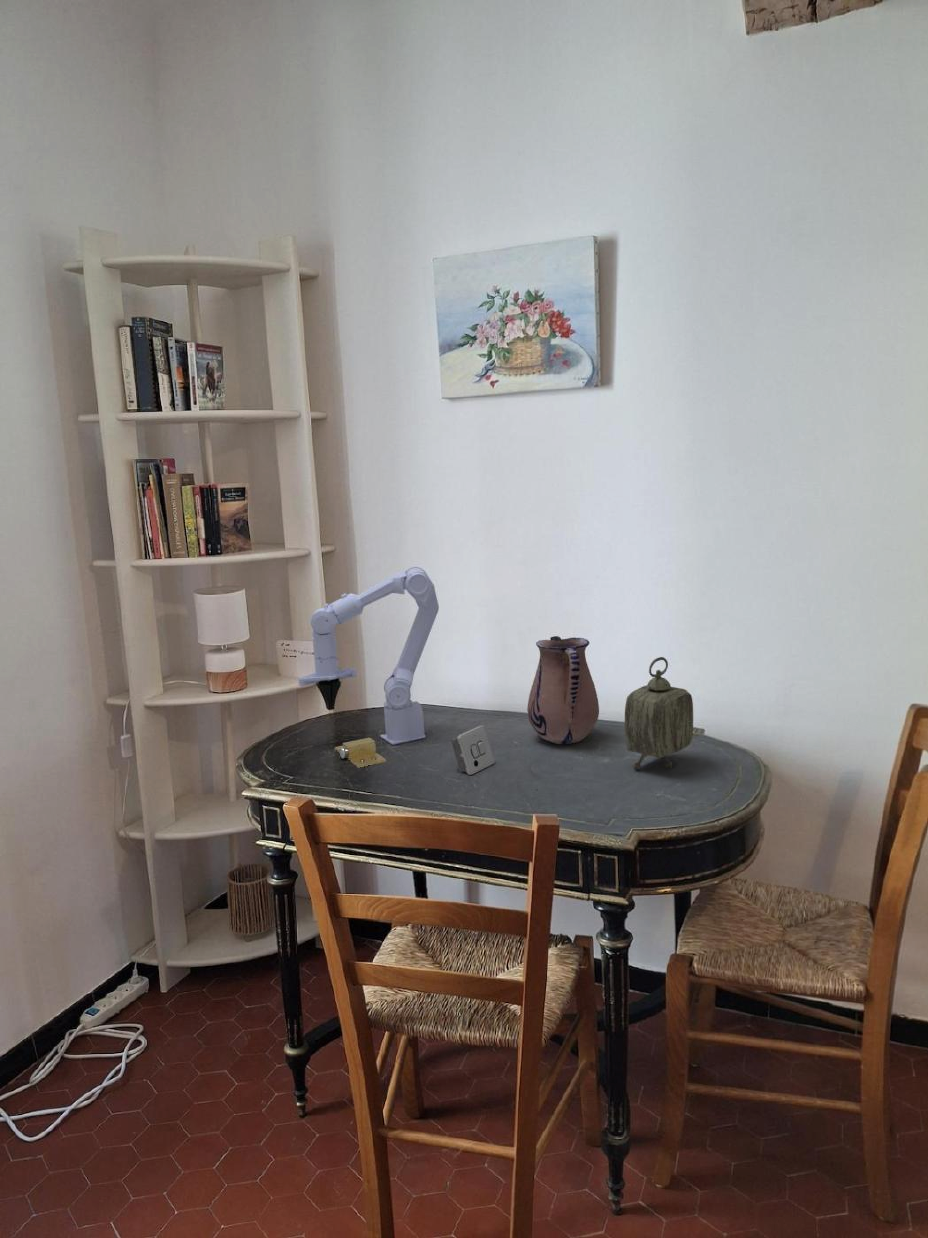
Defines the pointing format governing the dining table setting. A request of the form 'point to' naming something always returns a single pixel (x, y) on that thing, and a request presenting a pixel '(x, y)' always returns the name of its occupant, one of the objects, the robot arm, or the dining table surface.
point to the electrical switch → (473, 750)
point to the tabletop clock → (658, 718)
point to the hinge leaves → (362, 752)
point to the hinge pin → (345, 752)
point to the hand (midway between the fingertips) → (330, 709)
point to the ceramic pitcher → (563, 692)
